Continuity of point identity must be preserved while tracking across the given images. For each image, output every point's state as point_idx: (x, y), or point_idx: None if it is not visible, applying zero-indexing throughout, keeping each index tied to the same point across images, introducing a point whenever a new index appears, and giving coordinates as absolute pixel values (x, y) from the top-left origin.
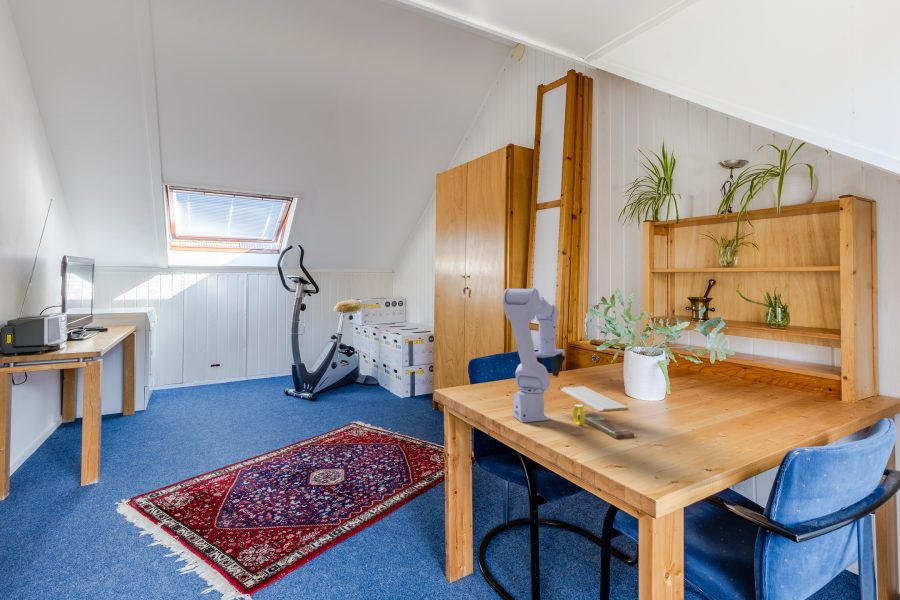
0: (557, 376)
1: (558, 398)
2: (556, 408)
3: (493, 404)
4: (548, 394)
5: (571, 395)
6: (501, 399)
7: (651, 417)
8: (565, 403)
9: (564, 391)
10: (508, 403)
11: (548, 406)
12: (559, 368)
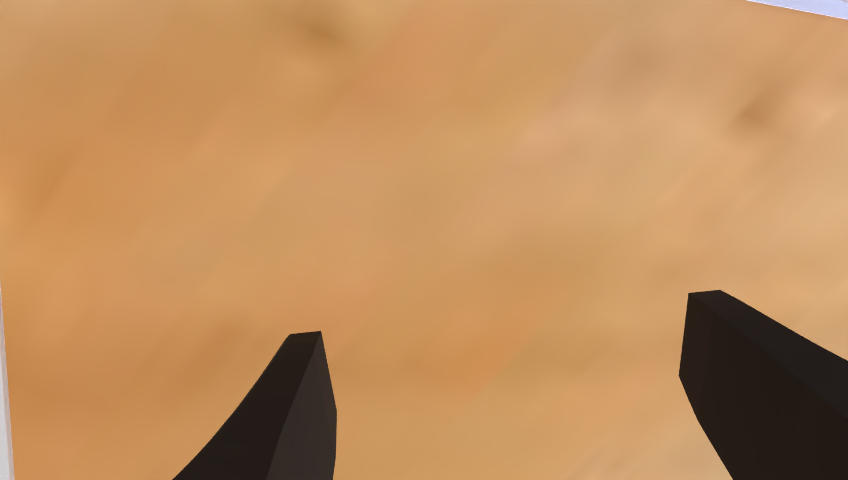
0: (303, 333)
1: (178, 339)
2: (410, 67)
3: None
4: None
5: (2, 360)
6: (658, 476)
7: None
8: (206, 179)
9: (10, 471)
10: None
11: (440, 163)
12: (248, 421)
